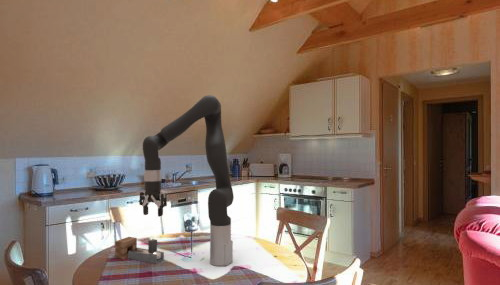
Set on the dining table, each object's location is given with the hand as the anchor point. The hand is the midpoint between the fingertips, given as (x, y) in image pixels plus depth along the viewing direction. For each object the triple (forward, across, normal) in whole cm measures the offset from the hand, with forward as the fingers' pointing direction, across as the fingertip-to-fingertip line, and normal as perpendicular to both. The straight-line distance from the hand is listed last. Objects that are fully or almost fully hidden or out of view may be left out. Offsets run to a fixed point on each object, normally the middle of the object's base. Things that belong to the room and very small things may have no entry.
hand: (152, 215), depth 148 cm
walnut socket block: (+20, +16, +1) cm, 25 cm away
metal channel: (+20, +4, +1) cm, 20 cm away
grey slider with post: (+19, +2, +1) cm, 19 cm away
